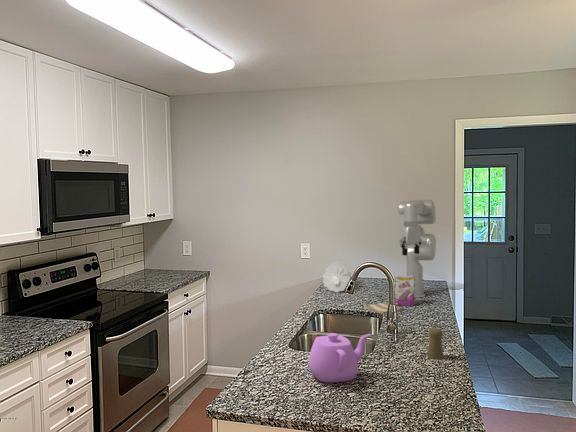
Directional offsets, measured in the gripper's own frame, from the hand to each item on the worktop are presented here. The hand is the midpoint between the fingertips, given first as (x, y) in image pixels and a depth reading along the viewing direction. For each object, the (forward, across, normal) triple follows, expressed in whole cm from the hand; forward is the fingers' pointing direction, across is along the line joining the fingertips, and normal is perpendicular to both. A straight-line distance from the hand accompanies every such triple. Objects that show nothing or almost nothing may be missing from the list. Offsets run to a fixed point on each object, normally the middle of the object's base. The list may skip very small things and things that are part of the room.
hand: (410, 254), depth 274 cm
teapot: (+26, +102, +60) cm, 121 cm away
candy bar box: (+28, +6, +1) cm, 29 cm away
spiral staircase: (+29, +12, -53) cm, 61 cm away
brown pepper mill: (+27, +58, +67) cm, 93 cm away
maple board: (+28, +23, +2) cm, 36 cm away
